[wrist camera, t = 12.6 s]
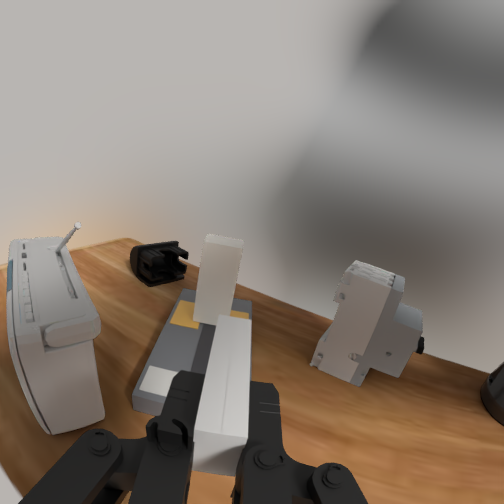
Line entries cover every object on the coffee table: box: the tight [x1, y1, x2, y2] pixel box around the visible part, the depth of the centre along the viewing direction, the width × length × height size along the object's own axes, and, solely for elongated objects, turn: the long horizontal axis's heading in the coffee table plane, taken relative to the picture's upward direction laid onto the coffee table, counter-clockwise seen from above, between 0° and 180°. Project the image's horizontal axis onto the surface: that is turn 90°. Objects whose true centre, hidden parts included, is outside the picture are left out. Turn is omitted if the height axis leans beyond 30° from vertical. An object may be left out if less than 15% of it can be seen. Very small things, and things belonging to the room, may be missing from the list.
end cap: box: [130, 241, 188, 287], centre depth 56 cm, size 10×7×7 cm
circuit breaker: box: [310, 260, 424, 387], centre depth 37 cm, size 8×14×15 cm, turn 58°
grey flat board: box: [132, 288, 252, 416], centre depth 38 cm, size 12×26×3 cm, turn 0°
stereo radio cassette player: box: [7, 222, 105, 435], centre depth 23 cm, size 21×8×20 cm, turn 44°
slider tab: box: [193, 234, 244, 326], centre depth 40 cm, size 5×4×12 cm
